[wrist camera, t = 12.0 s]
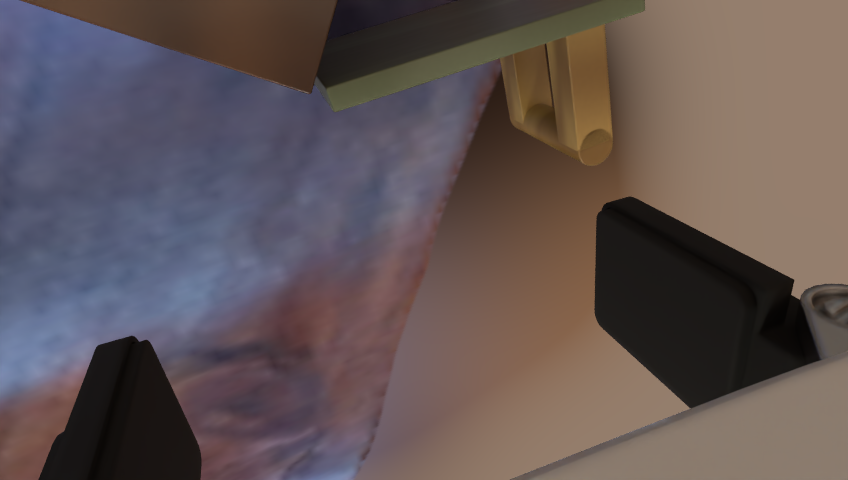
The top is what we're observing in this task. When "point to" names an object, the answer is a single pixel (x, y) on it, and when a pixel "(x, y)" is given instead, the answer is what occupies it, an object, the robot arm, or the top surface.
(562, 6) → the door
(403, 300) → the top surface
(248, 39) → the cupboard
